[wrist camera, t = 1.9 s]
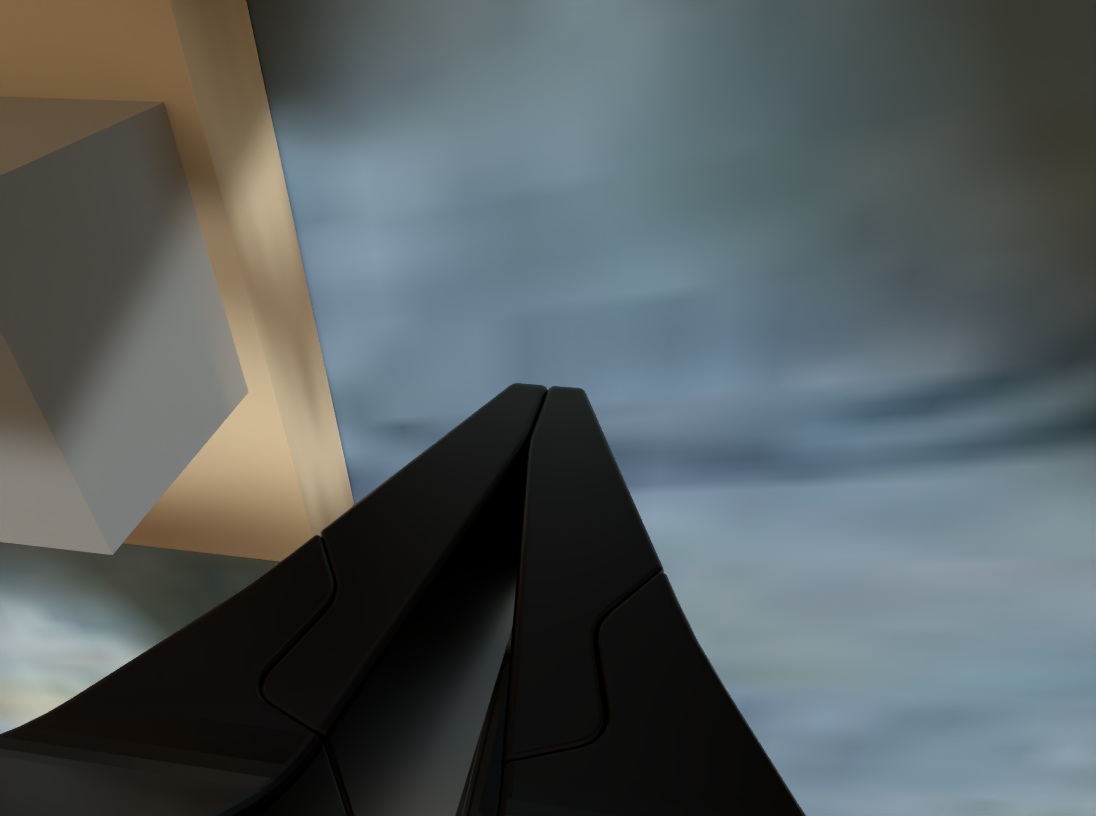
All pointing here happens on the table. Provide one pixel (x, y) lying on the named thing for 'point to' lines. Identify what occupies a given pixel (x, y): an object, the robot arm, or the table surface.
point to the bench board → (212, 255)
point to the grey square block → (101, 321)
